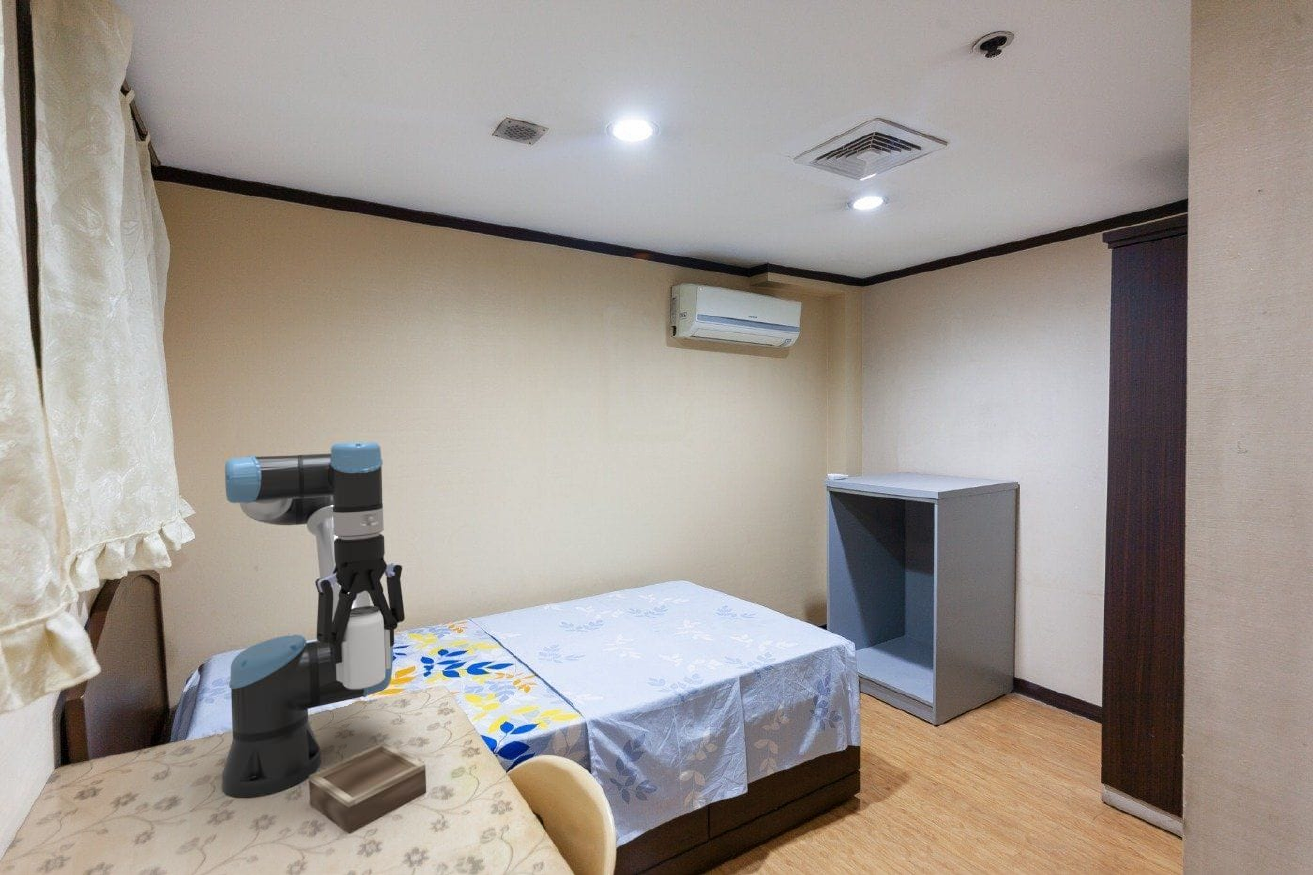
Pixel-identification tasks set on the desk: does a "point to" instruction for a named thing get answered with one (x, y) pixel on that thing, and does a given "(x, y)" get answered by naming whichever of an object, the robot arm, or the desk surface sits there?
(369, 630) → the can
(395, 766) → the wooden tray
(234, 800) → the desk surface
